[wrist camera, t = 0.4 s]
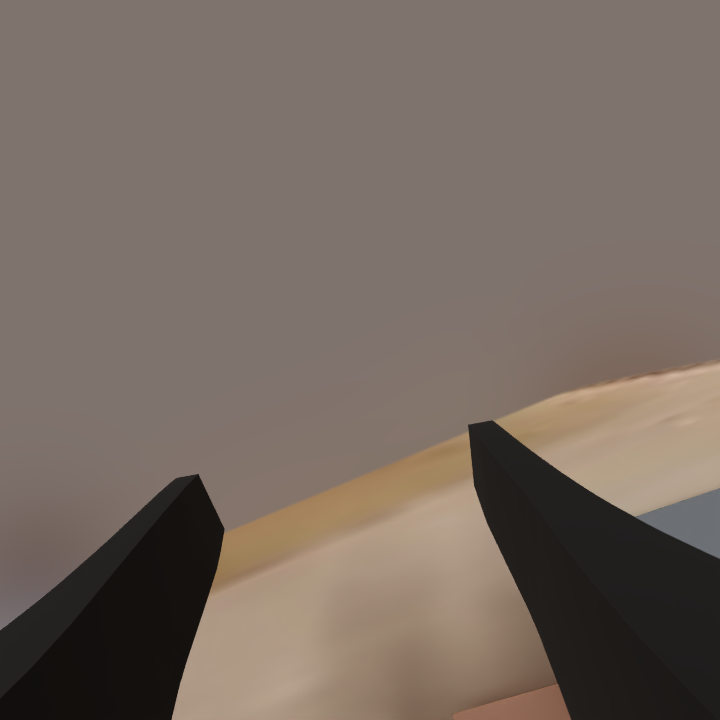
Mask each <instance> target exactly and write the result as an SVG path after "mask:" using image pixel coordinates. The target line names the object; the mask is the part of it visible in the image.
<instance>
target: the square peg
mask: <svg viewBox="0 0 720 720" xmlns="http://www.w3.org/2000/svg"><path fill="white" fill-rule="evenodd" d="M452 716H453V720H571V718H570V715H569V713H568V710H567V707H566V704H565V702H564V699H563V696H562V694H561V691H560V688H559V685H558V684H555V685H551V686H548V687H544V688H541V689H537V690H534V691H530V692H527V693H523V694H520V695H516V696H513V697H509V698H506V699H502V700H499V701H495V702H492V703H488V704H485V705H481V706H478V707H474V708H471V709H467V710H464V711H460V712H457V713H453V714H452Z"/></svg>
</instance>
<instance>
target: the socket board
mask: <svg viewBox="0 0 720 720" xmlns="http://www.w3.org/2000/svg"><path fill="white" fill-rule="evenodd" d="M636 518H638V519H639V520H641V521H643V522H645V523H647V524H649V525H651V526H652V527H654V528H656V529H658V530H660V531H662V532H664V533H666V534H668V535H670V536H672V537H675V538H677V539H679V540H681V541H683V542H685V543H687V544H689V545H692V546H694V547H696V548H698V549H700V550H702V551H704V552H706V553H708V554H711V555H713V556H715V557H717V558H720V488H719V489H716V490H714V491H711V492H708V493H705V494H702V495H699V496H696V497H693V498H690V499H687V500H684V501H681V502H678V503H675V504H672V505H669V506H666V507H663V508H660V509H657V510H654V511H651V512H648V513H645V514H643V515H640V516H637V517H636Z"/></svg>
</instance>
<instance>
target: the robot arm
mask: <svg viewBox="0 0 720 720" xmlns="http://www.w3.org/2000/svg"><path fill="white" fill-rule="evenodd" d="M468 428H469V438H470V448H471V458H472V468H473V478H474V486H475V489H476V492H477V495H478V498H479V501H480V504H481V507H482V510H483V513H484V516H485V518H486V521H487V524H488V526H489V528H490V530H491V532H492V534H493V536H494V538H495V541H496V543H497V545H498V547H499V549H500V551H501V553H502V555H503V557H504V559H505V562H506V564H507V566H508V568H509V570H510V572H511V574H512V576H513V578H514V580H515V582H516V584H517V587H518V589H519V591H520V593H521V595H522V597H523V599H524V601H525V603H526V605H527V607H528V610H529V612H530V614H531V616H532V619H533V621H534V623H535V626H536V628H537V630H538V633H539V635H540V638H541V640H542V643H543V646H544V648H545V651H546V654H547V656H548V659H549V662H550V664H551V667H552V669H553V672H554V675H555V677H556V680H557V683H558V685H559V688H560V691H561V694H562V696H563V699H564V702H565V704H566V707H567V710H568V713H569V715H570V718H571V720H720V558H717V557H715V556H713V555H711V554H708V553H706V552H704V551H702V550H700V549H698V548H696V547H694V546H692V545H689V544H687V543H685V542H683V541H681V540H679V539H677V538H675V537H672V536H670V535H668V534H666V533H664V532H662V531H660V530H658V529H656V528H654V527H652V526H651V525H649V524H647V523H645V522H643V521H641V520H639V519H638V518H636V517H634V516H632V515H630V514H628V513H627V512H625V511H623V510H621V509H619V508H617V507H616V506H614V505H612V504H610V503H609V502H607V501H605V500H604V499H602V498H600V497H598V496H597V495H595V494H594V493H592V492H590V491H589V490H587V489H586V488H584V487H583V486H581V485H579V484H578V483H576V482H575V481H573V480H572V479H570V478H569V477H567V476H566V475H564V474H563V473H561V472H560V471H559V470H557V469H556V468H554V467H553V466H552V465H550V464H549V463H547V462H546V461H545V460H543V459H542V458H540V457H539V456H538V455H536V454H535V453H534V452H532V451H531V450H530V449H528V448H527V447H526V446H524V445H523V444H522V443H521V442H519V441H518V440H517V439H515V438H514V437H513V436H512V435H510V434H509V433H508V432H507V431H505V430H504V429H503V428H502V427H500V426H499V425H498V424H496V423H495V422H494V421H486V422H481V423H475V424H470V425H468ZM223 535H224V527H223V525H222V523H221V521H220V519H219V516H218V514H217V512H216V510H215V508H214V506H213V504H212V502H211V500H210V498H209V496H208V493H207V491H206V489H205V487H204V485H203V483H202V481H201V479H200V476H199V474H196V475H191V476H185V477H180V478H176V479H175V480H174V481H172V482H171V483H170V484H169V485H168V486H166V487H165V488H164V489H163V490H162V491H161V492H160V493H158V494H157V495H156V496H155V497H154V498H153V499H152V500H151V501H150V502H149V503H148V504H147V505H145V506H144V507H143V508H142V509H141V511H139V512H138V513H137V514H136V515H135V516H134V517H133V518H132V519H131V520H129V521H128V523H126V524H125V525H124V526H123V527H122V528H121V529H120V530H119V531H118V532H117V533H116V534H115V535H114V536H112V537H111V538H110V539H109V540H108V541H107V542H106V543H105V544H104V545H103V546H101V547H100V548H99V549H98V550H97V551H96V552H95V553H94V554H93V555H91V556H90V557H89V558H88V559H87V560H86V561H85V562H83V563H82V564H81V565H80V566H79V567H78V568H77V569H75V570H74V571H73V572H72V573H71V574H70V575H69V576H68V577H66V578H65V579H64V580H63V581H62V582H61V583H59V584H58V585H57V586H56V587H55V588H53V589H52V590H51V591H50V592H49V593H47V594H46V595H45V596H44V597H43V598H41V599H40V600H39V601H38V602H36V603H35V604H34V605H33V606H31V607H30V608H29V609H27V610H26V611H25V612H24V613H22V614H21V615H20V616H18V617H17V618H16V619H15V620H13V621H12V622H11V623H9V624H8V625H7V626H6V627H4V628H3V629H2V630H0V720H171V719H172V715H173V711H174V707H175V702H176V698H177V694H178V690H179V686H180V682H181V679H182V675H183V672H184V669H185V665H186V662H187V659H188V656H189V653H190V650H191V647H192V644H193V641H194V638H195V635H196V632H197V629H198V626H199V623H200V620H201V617H202V614H203V611H204V608H205V605H206V602H207V598H208V595H209V592H210V589H211V586H212V583H213V580H214V577H215V573H216V570H217V566H218V562H219V557H220V552H221V547H222V541H223Z"/></svg>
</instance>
